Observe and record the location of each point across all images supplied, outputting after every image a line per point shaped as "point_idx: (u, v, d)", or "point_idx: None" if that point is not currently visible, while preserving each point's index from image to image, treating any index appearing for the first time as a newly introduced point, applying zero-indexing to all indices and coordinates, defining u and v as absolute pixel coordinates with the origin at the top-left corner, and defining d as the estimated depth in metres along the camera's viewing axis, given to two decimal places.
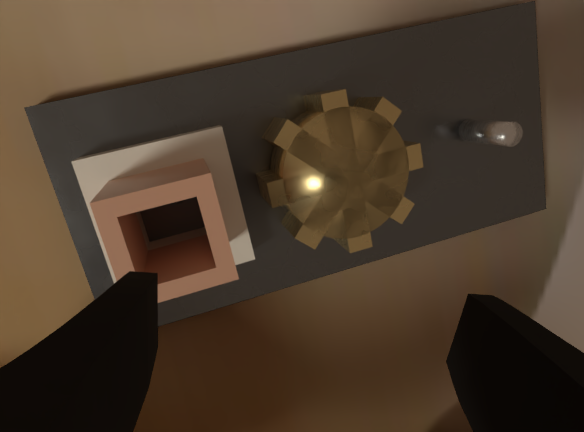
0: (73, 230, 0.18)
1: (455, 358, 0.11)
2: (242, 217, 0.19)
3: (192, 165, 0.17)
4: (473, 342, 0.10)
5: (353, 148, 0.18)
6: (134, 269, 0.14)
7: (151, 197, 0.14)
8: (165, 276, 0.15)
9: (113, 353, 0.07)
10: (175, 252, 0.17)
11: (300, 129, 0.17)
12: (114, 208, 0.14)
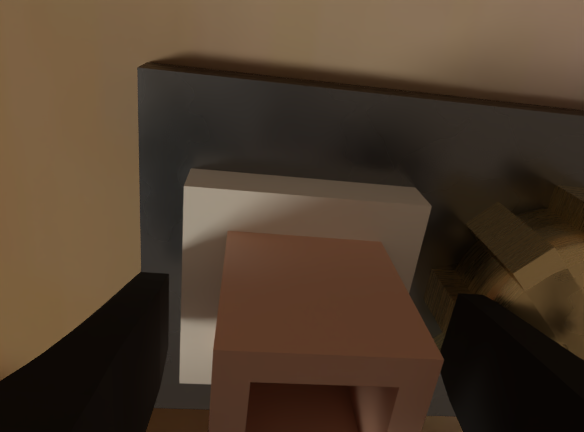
0: (146, 263, 0.12)
1: (446, 357, 0.11)
2: None
3: (375, 270, 0.10)
4: (463, 341, 0.10)
5: None
6: None
7: (323, 369, 0.07)
8: None
9: (128, 354, 0.07)
10: None
11: (563, 267, 0.10)
12: (252, 368, 0.07)
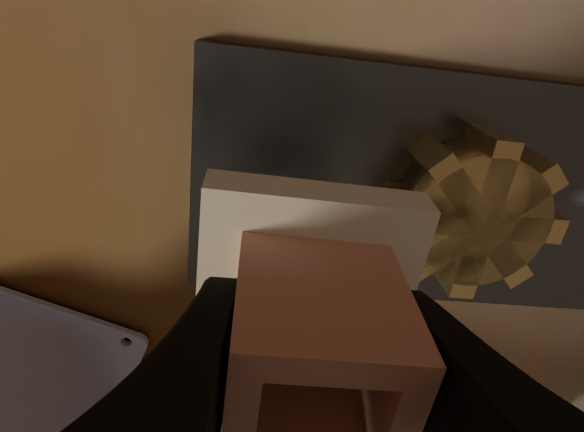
0: (194, 174, 0.18)
1: None
2: None
3: (383, 275, 0.10)
4: None
5: (502, 203, 0.17)
6: None
7: (332, 373, 0.08)
8: None
9: (220, 358, 0.08)
10: None
11: (460, 167, 0.16)
12: (265, 371, 0.08)
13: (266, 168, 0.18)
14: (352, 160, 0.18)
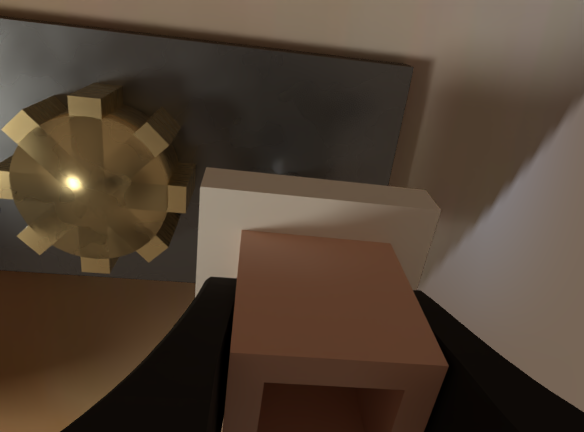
0: None
1: None
2: None
3: (384, 272, 0.10)
4: None
5: (101, 166, 0.15)
6: None
7: (333, 371, 0.08)
8: None
9: (221, 358, 0.08)
10: None
11: (37, 125, 0.15)
12: (266, 370, 0.07)
13: None
14: None
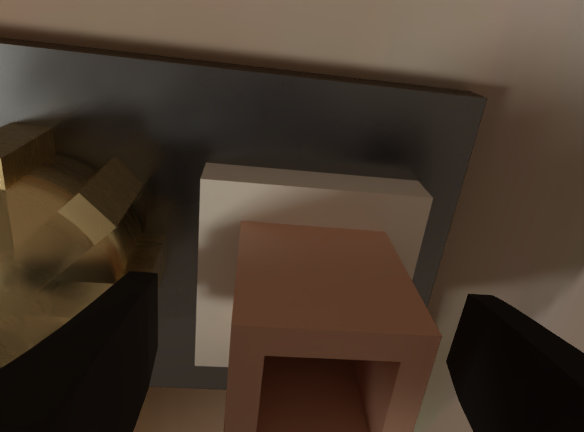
0: None
1: (455, 358, 0.11)
2: None
3: (379, 257, 0.10)
4: (473, 342, 0.10)
5: (10, 259, 0.10)
6: (256, 425, 0.09)
7: (331, 344, 0.08)
8: (291, 431, 0.09)
9: (113, 353, 0.07)
10: None
11: None
12: (266, 343, 0.08)
13: None
14: None
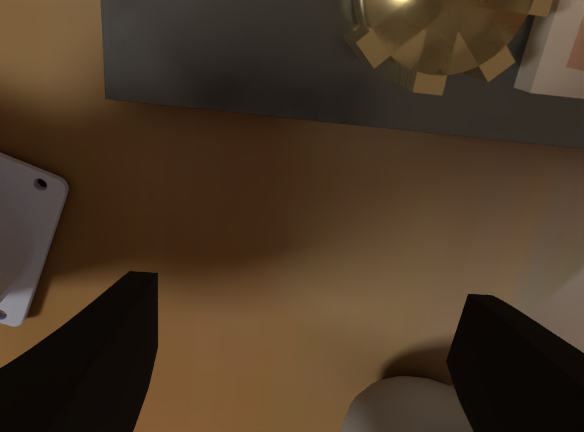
0: None
1: (455, 358, 0.11)
2: None
3: None
4: (473, 342, 0.10)
5: None
6: None
7: None
8: None
9: (113, 353, 0.07)
10: None
11: None
12: None
13: None
14: None
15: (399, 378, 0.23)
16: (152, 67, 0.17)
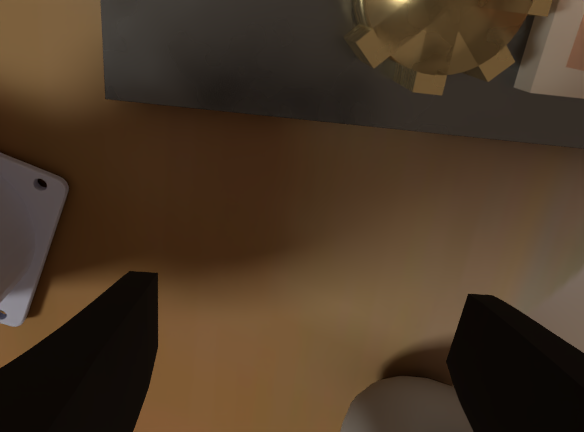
0: None
1: (455, 358, 0.11)
2: None
3: None
4: (473, 342, 0.10)
5: None
6: None
7: None
8: None
9: (113, 353, 0.07)
10: None
11: None
12: None
13: None
14: None
15: (399, 378, 0.23)
16: (152, 67, 0.17)
